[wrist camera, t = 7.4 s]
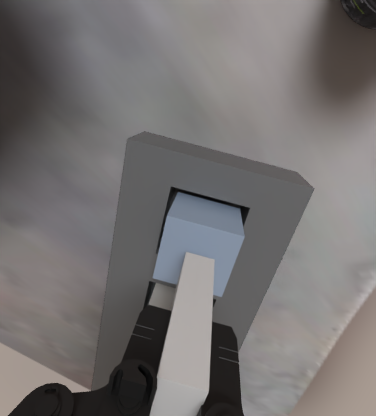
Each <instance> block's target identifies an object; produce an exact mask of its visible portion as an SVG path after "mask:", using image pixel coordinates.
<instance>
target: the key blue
mask: <svg viewBox="0 0 376 416" xmlns="http://www.w3.org/2000/svg"><path fill="white" fill-rule="evenodd" d="M244 237H245V235H244V229H243V223H242V218H241V212H240V208H236V207H232V206H229V205H225V204H221V203H217V202H214V201H210V200H206V199H203V198H199V197H195V196H192V195H188V194H184V193H180V192H178V193H177V195H176V197H175V200H174V202H173V204H172V206H171V208H170V210H169V212H168V215H167V218H166V222H165V227H164V231H163V235H162V239H161V244H160V248H159V252H158V257H157V261H156V265H155V270H154V274H153V278H154V279H157V280H161V281H165V282H168V283H172V284H176V285H177V282H178V279H179V275H180V272H181V268H182V265H183V261H184V258H185V254H186V252H189V253H193V254H196V255H200V256H203V257H207V258H211V259H214V260H215V262H214V285H213V295H215V296H219V297H222V295H223V293H224V290H225V287H226V285H227V282H228V279H229V277H230V274H231V272H232V269H233V266H234V264H235V261H236V258H237V256H238V253H239V250H240V248H241V245H242V243H243V240H244Z"/></svg>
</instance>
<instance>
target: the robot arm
mask: <svg viewBox="0 0 376 416" xmlns="http://www.w3.org/2000/svg"><path fill="white" fill-rule="evenodd" d="M214 262H215V260H214V259H211V258H207V257H203V256H200V255H196V254H193V253H189V252H186V254H185V258H184V261H183V265H182V268H181V272H180V275H179V279H178V282H177V286H176V290H175V293H174V297H173V301H172V306H171V310H166V309H163V308H159V307H156V306H152V305H149V304H148V305H147V306H146V307H145V308H144V309H143V310H142V311H141V312H140V314H139V316H138V319H137V322H136V325H135V327H134V329H133V332H132V335H131V337H130V340H129V343H128V345H127V348H126V350H125V353H124V356H123V358H122V361H121V363H120V364H119V365H117V366H116V367H115V368H114V370H113V371H112V373H111V374H110V377H109V383H108V384H107V385H105V386H104V387H102V388H100V389H98V390H94V391H89V392H78V393H72V392H71V391H70V390H69V389H68V388H67V387H66V386H65V385H62V384H59V383H50V384H45V385H43V386H40V387H38V388H36V389H35V390H33V391H32V392H31V393H30V394H29V395H27V396H26V397H25V398H24V399H23V401H22V402H21V403H20V404H19V405H18V406H17V407H16V408H15V409H14V410H13V411H12V412H11V413H10V414H9V415H8V416H244V414H243V410H242V404H241V389H240V374H239V364H238V362H239V359H238V343H237V337H236V335H235V333H234V331H233V329H232V327H230V326H227V325H223V324H220V323H216V322H212V308H213V285H214Z"/></svg>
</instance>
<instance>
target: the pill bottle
mask: <svg viewBox="0 0 376 416" xmlns="http://www.w3.org/2000/svg"><path fill="white" fill-rule="evenodd" d="M341 2H342V5H343V7H344V10H345V11H346V13H347V14H348V15H349V16H350V17H351V18H352V19H353V20H354V21H355V22H357V23H358V24H360V25H362V26H364V27H367V28H370V29H376V0H341Z"/></svg>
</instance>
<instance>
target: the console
mask: <svg viewBox="0 0 376 416" xmlns="http://www.w3.org/2000/svg"><path fill="white" fill-rule="evenodd" d="M313 191H314V188H313V187H312V186H311V185H310V184H309V183H308V182H307V181H306V180H305V179H304V178H303V177H302V176H301V175H300V174H299V173H297V172H294V171H291V170H287V169H283V168H279V167H276V166H272V165H268V164H264V163H261V162H257V161H253V160H250V159H246V158H242V157H238V156H235V155H231V154H227V153H223V152H220V151H216V150H212V149H208V148H205V147H201V146H197V145H193V144H190V143H186V142H182V141H178V140H175V139H171V138H167V137H164V136H160V135H156V134H152V133H149V132H145V131H144V132H142V133H140V134H137V135H135V136H133V137H130V138H128V139H127V145H126V152H125V159H124V166H123V173H122V180H121V187H120V194H119V201H118V207H117V214H116V221H115V228H114V235H113V242H112V249H111V256H110V263H109V270H108V277H107V284H106V291H105V298H104V305H103V312H102V319H101V326H100V333H99V340H98V347H97V353H96V360H95V367H94V374H93V381H92V388H91V391H94V390H98V389H100V388H102V387H104V386H105V385H107V384H108V383H109V377H110V374H111V373H112V371H113V370H114V368H115V367H116V366H117V365H119V364H120V363H121V361H122V358H123V356H124V353H125V350H126V348H127V345H128V343H129V340H130V337H131V335H132V332H133V329H134V327H135V325H136V322H137V319H138V316H139V314H140V312H141V311H142V310H143V309H144V308H145V307H146V306H147V305H148V304H149V301H150V298H151V296H152V293H153V290H154V287H155V284H156V283H158V284H162V285H166V286H169V287H173V288H176V286H177V285H176V284H172V283H168V282H165V281H161V280H157V279H154V278H153V274H154V270H155V265H156V261H157V257H158V252H159V248H160V244H161V239H162V235H163V231H164V227H165V222H166V218H167V215H168V212H169V210H170V208H171V206H172V204H173V202H174V200H175V197H176V195H177V193H178V192H180V193H184V194H188V195H192V196H195V197H199V198H203V199H206V200H210V201H214V202H217V203H221V204H225V205H229V206H232V207H236V208H240V212H241V218H242V223H243V229H244V235H245V237H244V240H243V243H242V245H241V248H240V250H239V253H238V256H237V258H236V261H235V264H234V266H233V269H232V272H231V274H230V277H229V279H228V282H227V285H226V287H225V290H224V293H223V295H222V297H219V296H215V295H213V308H212V322H216V323H220V324H223V325H227V326H230V327H232V329H233V331H234V333H235V335H236V337H237V343H238V352H239V350H240V348H241V346H242V343H243V341H244V339H245V337H246V335H247V333H248V330H249V328H250V326H251V324H252V322H253V320H254V318H255V315H256V313H257V311H258V309H259V307H260V305H261V303H262V300H263V298H264V296H265V294H266V292H267V290H268V288H269V285H270V283H271V281H272V279H273V277H274V275H275V273H276V270H277V268H278V266H279V264H280V262H281V260H282V258H283V255H284V253H285V251H286V249H287V247H288V245H289V243H290V240H291V238H292V236H293V234H294V232H295V230H296V227H297V225H298V223H299V221H300V219H301V217H302V215H303V212H304V210H305V208H306V206H307V204H308V202H309V200H310V197H311V195H312V193H313Z"/></svg>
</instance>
